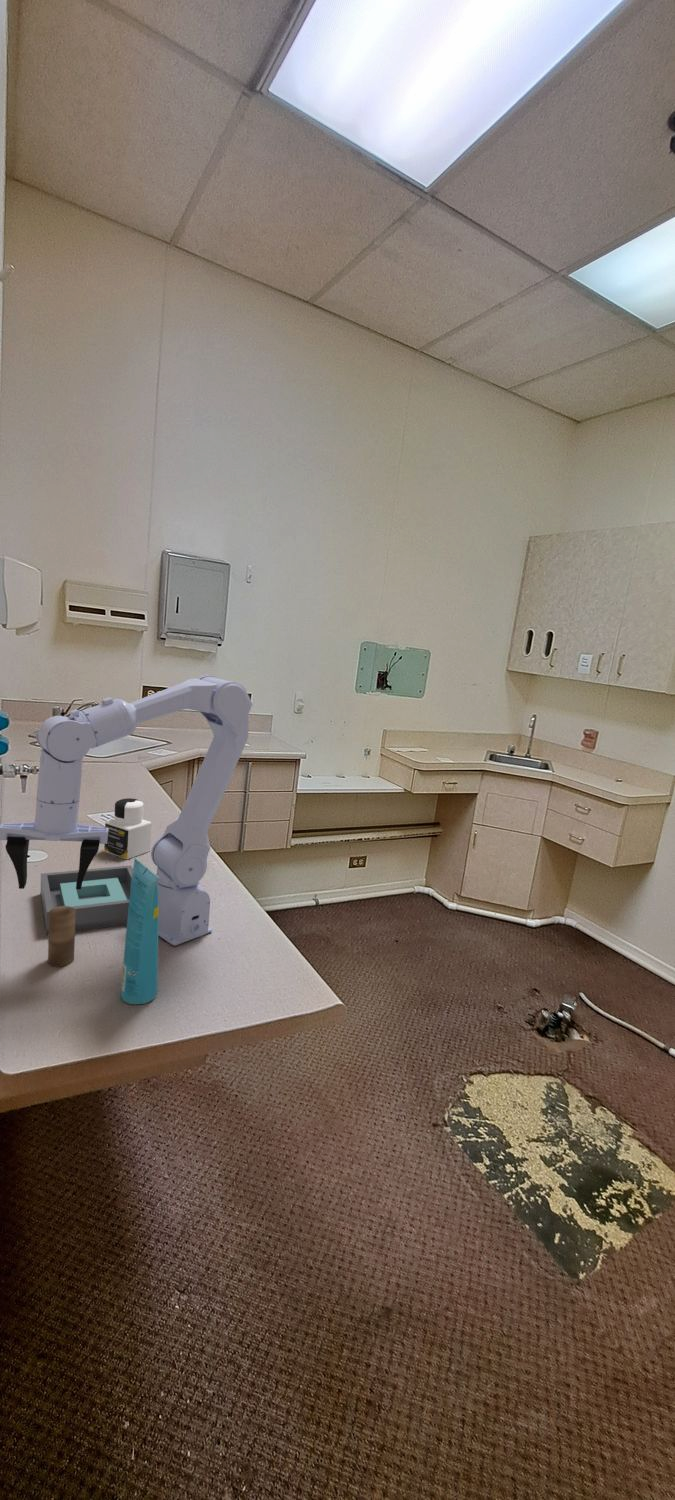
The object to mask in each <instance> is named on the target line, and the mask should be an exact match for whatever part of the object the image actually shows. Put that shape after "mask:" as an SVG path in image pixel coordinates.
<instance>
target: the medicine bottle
mask: <svg viewBox="0 0 675 1500" xmlns="http://www.w3.org/2000/svg"><path fill="white" fill-rule="evenodd" d="M144 809H145V807H144V802H143V801H142V800H139V799H138V798H130V797H129V798H122V799H118V800H117V801H116V802H115V803H114V819H111V820H106V821H105V822H104V823H105V824H104V828H109V829H108V840H107V844H104V849H103V851H104V852H105V853H107V854H110V855H112V856H116V857H118V858H121V859H124V860H129V859H133V858H135V857H138V856H141V855H143V854H144V855H145V854H147V853H149V852H151V845H152V844H151V842H152V821H149V820H146V819H144Z"/></svg>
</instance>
